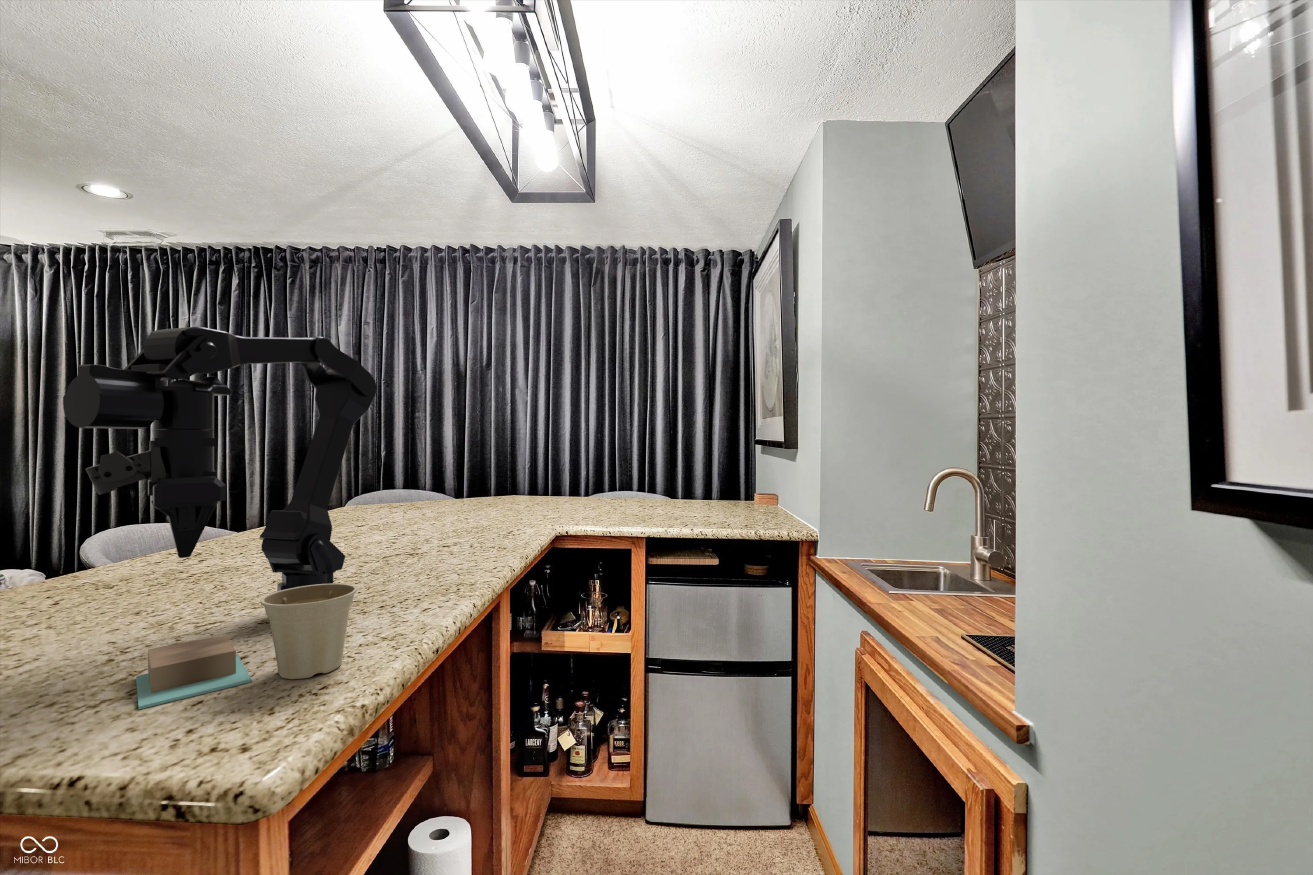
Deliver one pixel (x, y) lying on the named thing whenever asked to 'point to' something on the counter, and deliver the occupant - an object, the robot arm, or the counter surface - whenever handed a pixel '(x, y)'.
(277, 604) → the flower pot
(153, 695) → the teal mat
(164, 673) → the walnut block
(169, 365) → the robot arm
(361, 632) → the counter surface
